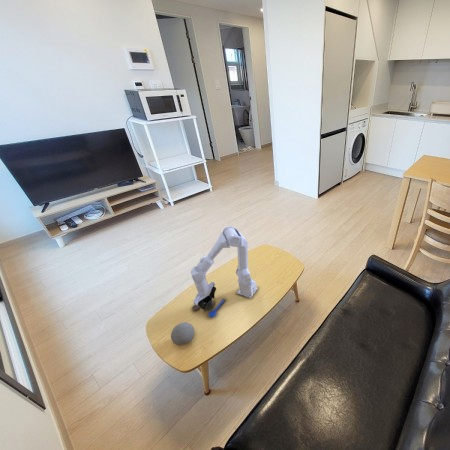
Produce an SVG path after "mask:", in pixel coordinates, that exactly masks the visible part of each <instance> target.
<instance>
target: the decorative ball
mask: <svg viewBox="0 0 450 450" xmlns="http://www.w3.org/2000/svg"><path fill="white" fill-rule="evenodd" d="M194 336H195V328H194V326H193V325H192V323H190V322H185V321H184V322H180V323H178V324H176V325H174V327H173V329H172V330H171V333H170V339H171V341H172V343H173V344H175V345H176V346H186V345H188V344H189V343H190V342H191V341H192V340H193V338H194Z"/></svg>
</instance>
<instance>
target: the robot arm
mask: <svg viewBox="0 0 450 450" xmlns="http://www.w3.org/2000/svg"><path fill="white" fill-rule="evenodd" d="M231 247H232V248H233V247H234V248H237V250H236V251H237V266H236V270H235V275H236V276H237V283H238V288H239V289H238V290H237V292H236V294H238V295H241V296H244V297H246V298H250V299H251V298H252V297H253V296H254V294H255V293H256V291H257V290H258V289H259V288H258V286H257V281H256V280H253V279H252V276H251V272H250V270H249V255H248V254H249V253H248V252H249V251H248V241H247V239H246V238H245V236H244V235H243V234H242V233H241V232H240V231H239V230H238V229H237V228H236V227H234V226H231V225H230V226H229V225H228V226H226V227H224V229H222V232H220V234H219V236H218V238H217V240H216V242H215V243H214V245H213V246H212V248H211V249H210V250H209V253H208V254H206V255H203V257H202V258H200V259H199V262H198V263H197V264H196V266H194V267H193V268H191V270H190V274H191V279H192V280H193V282H194V283H193V284H194V285H195V289H196V291H197V294H196V296H195V298H194V300H193V301H192V303H193V305H199V306H200V309H202V310H204V311H206V310H205V305H204V303H205V302H203V301H202V299H204V298H205V297H207V296H208V295H210V296H211V297H212V300H213V299H215V295H216V290H217V287H216V283H215V282H214V281H211V282H210V283H208V280H207V276H206V274H207V272H208V271H209V270H210V268H211V267H212V265H214V264H215V259H216V257H217V256H218V255H219V254H220V253H221V251H222V250H223V249H230V248H231Z"/></svg>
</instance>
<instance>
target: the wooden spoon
mask: <svg viewBox="0 0 450 450" xmlns="http://www.w3.org/2000/svg"><path fill="white" fill-rule="evenodd" d="M200 309H201V307H200V306H199V305H195V304H193V306H192V311H194V312H197V311H198V310H200Z"/></svg>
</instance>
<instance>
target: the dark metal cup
mask: <svg viewBox="0 0 450 450" xmlns="http://www.w3.org/2000/svg"><path fill="white" fill-rule="evenodd" d="M202 301H203V302H205V303H204V305H205V310H204V311H210V310H212V309H213V308H214V306H215V303H214V300H213V298H212V297H211V296H210V295H208V296H207V297H205V298H204V299H202Z"/></svg>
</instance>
